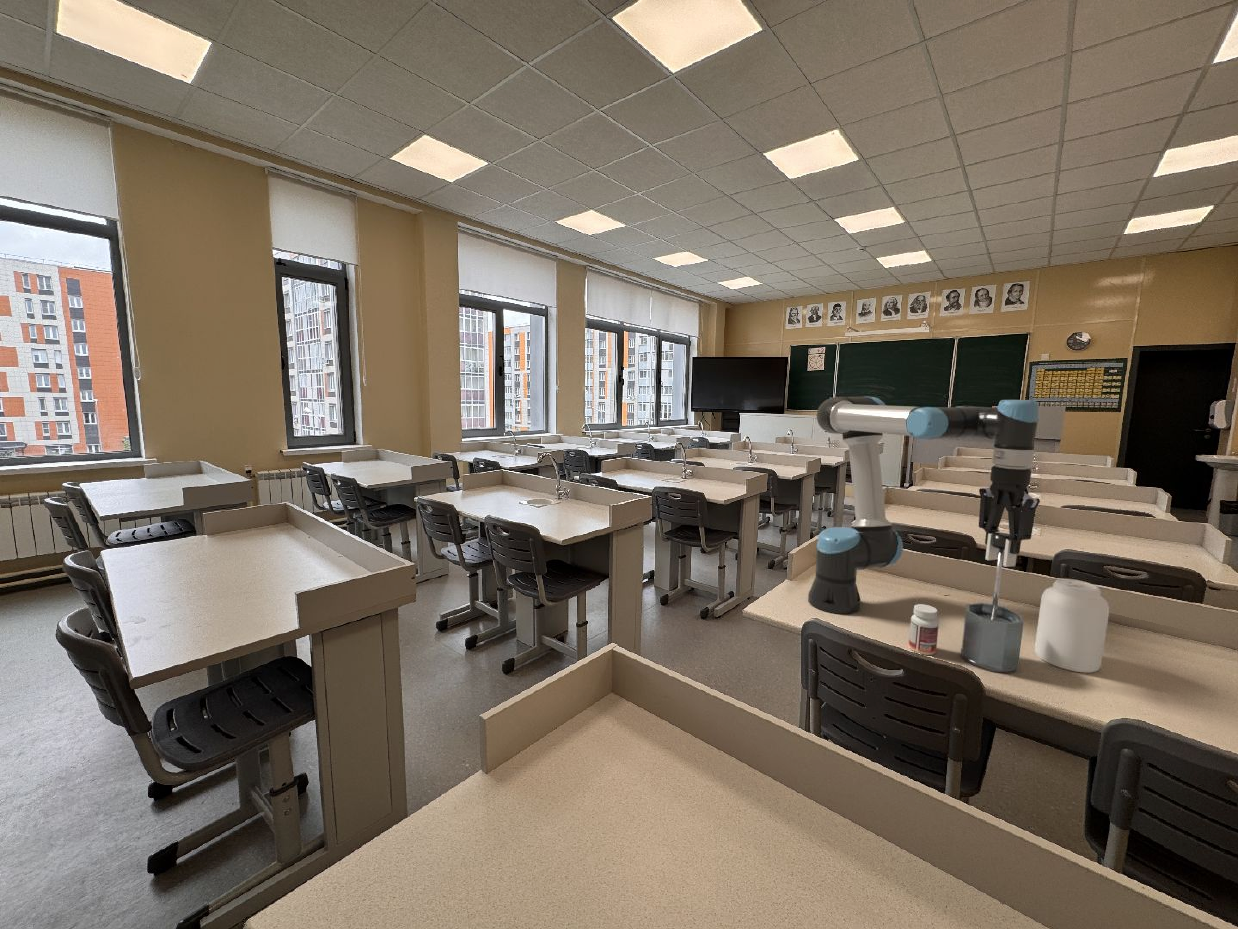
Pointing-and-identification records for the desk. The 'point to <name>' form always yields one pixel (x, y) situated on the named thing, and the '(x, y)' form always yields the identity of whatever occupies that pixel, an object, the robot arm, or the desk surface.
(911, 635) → the pill bottle
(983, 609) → the grey octagonal container
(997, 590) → the plunger
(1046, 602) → the can
